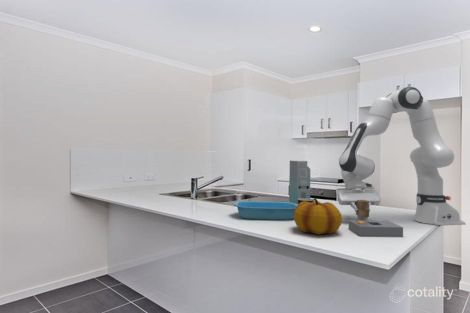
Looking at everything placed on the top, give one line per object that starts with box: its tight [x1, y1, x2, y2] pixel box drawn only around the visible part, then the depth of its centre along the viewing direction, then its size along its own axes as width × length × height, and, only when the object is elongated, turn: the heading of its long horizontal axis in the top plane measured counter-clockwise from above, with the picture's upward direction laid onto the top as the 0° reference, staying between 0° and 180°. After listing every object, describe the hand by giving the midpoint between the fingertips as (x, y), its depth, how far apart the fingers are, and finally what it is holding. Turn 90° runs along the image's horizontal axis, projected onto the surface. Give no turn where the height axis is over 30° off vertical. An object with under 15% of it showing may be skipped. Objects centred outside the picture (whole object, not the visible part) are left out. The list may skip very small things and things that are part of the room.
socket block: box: [348, 219, 404, 238], centre depth 136 cm, size 18×13×5 cm
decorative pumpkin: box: [293, 197, 343, 236], centre depth 137 cm, size 20×22×15 cm
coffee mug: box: [298, 198, 315, 204], centre depth 166 cm, size 12×9×10 cm
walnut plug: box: [355, 200, 370, 220], centre depth 150 cm, size 4×6×11 cm, turn 179°
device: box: [288, 160, 311, 204], centre depth 186 cm, size 16×8×30 cm, turn 6°
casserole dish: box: [232, 200, 298, 221], centre depth 168 cm, size 37×22×7 cm, turn 89°
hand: (362, 211), depth 149 cm, fingers closed on walnut plug, 4 cm apart
